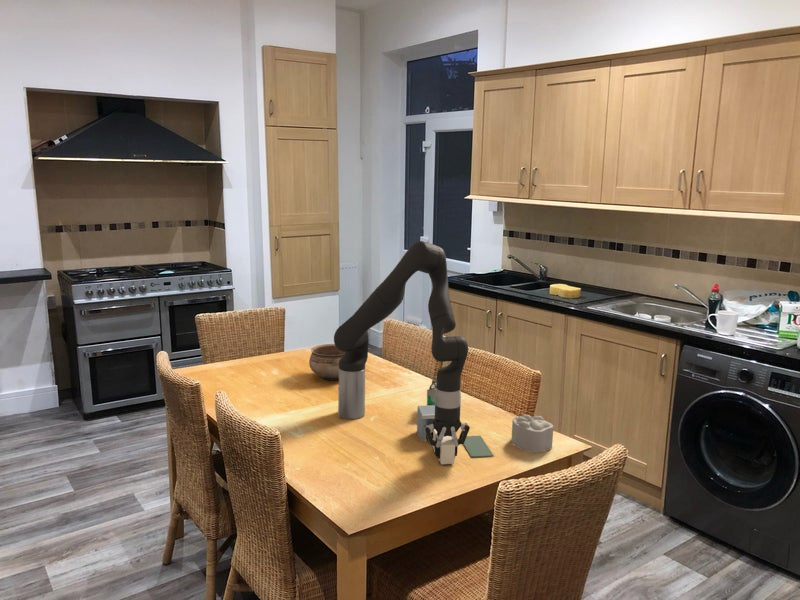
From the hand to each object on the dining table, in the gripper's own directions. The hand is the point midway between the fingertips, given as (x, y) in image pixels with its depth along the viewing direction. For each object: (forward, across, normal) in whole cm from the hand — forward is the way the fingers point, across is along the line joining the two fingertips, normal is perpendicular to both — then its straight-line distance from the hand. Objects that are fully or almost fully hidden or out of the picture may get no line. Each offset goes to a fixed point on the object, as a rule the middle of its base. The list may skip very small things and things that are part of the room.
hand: (445, 457), depth 190 cm
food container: (+2, +6, +40) cm, 41 cm away
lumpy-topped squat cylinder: (+2, +30, +10) cm, 31 cm away
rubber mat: (+2, +12, +9) cm, 15 cm away
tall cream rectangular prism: (+1, 0, +3) cm, 3 cm away
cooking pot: (+2, -30, +82) cm, 88 cm away
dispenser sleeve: (+2, 0, +20) cm, 20 cm away
